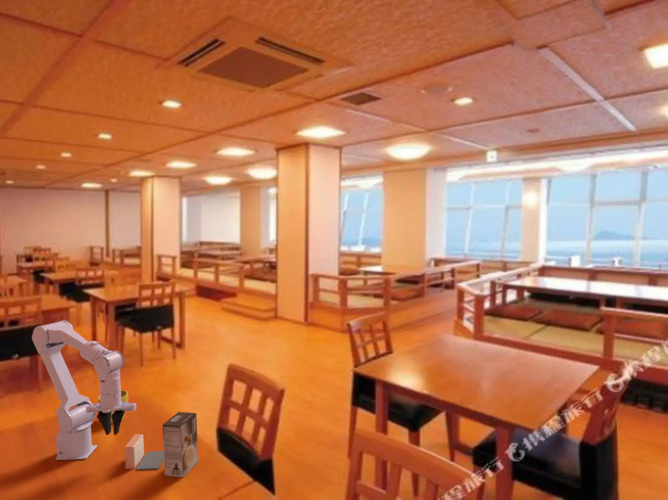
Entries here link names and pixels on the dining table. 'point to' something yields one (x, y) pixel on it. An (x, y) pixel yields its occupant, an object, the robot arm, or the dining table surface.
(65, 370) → the robot arm
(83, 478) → the dining table surface
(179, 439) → the coffee box
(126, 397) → the plant pot
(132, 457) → the pale pink block
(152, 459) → the mat
